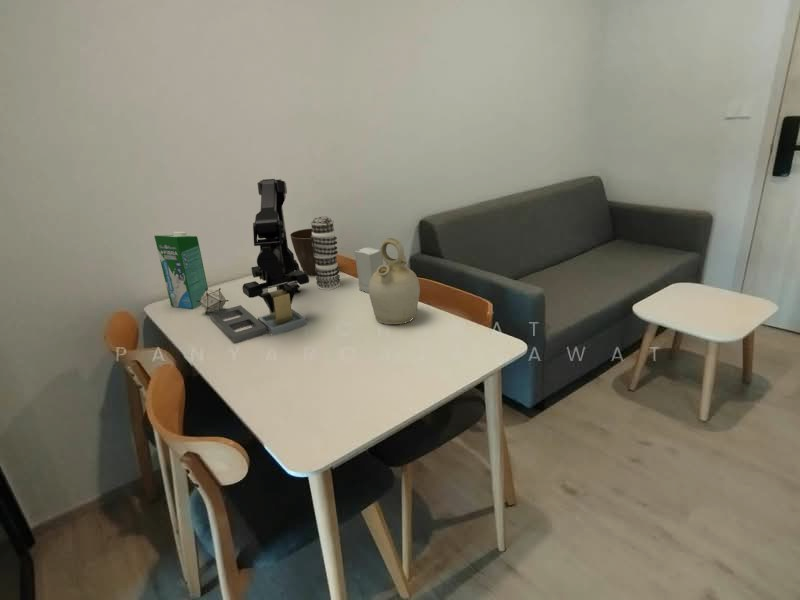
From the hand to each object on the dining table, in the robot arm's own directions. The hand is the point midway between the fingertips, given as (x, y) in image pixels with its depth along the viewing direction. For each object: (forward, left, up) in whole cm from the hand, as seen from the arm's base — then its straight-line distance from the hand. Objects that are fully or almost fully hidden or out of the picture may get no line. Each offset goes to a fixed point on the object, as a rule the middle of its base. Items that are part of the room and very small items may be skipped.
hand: (280, 309), depth 147 cm
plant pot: (-30, -37, -5) cm, 48 cm away
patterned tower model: (-27, -20, -5) cm, 34 cm away
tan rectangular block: (0, 0, -3) cm, 3 cm away
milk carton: (+17, -38, -5) cm, 42 cm away
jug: (-29, +19, -5) cm, 35 cm away
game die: (+13, -24, -5) cm, 28 cm away
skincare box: (-36, -5, -5) cm, 37 cm away
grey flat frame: (+11, -8, -5) cm, 14 cm away
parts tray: (0, 0, -5) cm, 5 cm away
